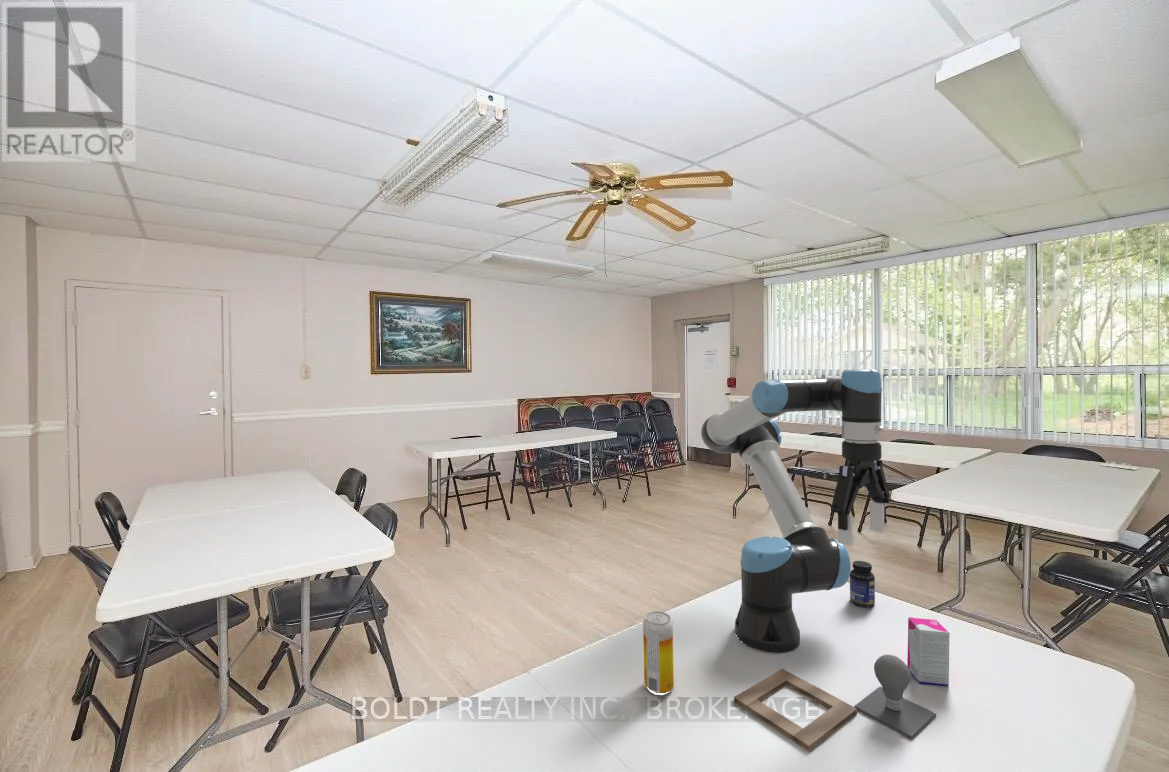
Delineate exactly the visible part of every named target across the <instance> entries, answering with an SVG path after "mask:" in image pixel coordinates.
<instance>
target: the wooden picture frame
mask: <svg viewBox="0 0 1169 772" xmlns="http://www.w3.org/2000/svg"><path fill="white" fill-rule="evenodd" d="M786 686H787V687H789V688H791V689H793V690H795V691H796V692H798V693H800V694H802V695H803V696H805V697H807V698H809V699H811V700H812V701H814V702H816V703H818V704H819V705H821V706H822V707H824V708H827V710H826V711H825V712H824V713H822V714H821V715H819V716H818V717H816V718H815V719H814V720H813V721H811V722H810V723H808V724H807V725H805V727H802V726H800V725H798V724H797V723H795V722H793V721H792V720H790V719H789V718H787V717H786V716H784V715H783V714H781V713H779V712H777V711H776V710H774V709H772V708H771V707H769V706H768V705H766V704H765V703H763V702H762V701H763V700H765V699H767V698H768V697H770V696H771V695H773V694H775V693H776V692H778V691H779V690H781V689H782V688H784V687H786ZM733 702H734V703H735V704H736V705H738V706H740V707H741V708H742V709H744V710H746V711H747V712H749V713H750V714H751V715H753V716H755V717H756V718H758V719H759V720H761V721H762V722H763V723H765V724H767V725H769V726H770V727H771V728H772V729H774V730H776V731H777V732H779V733H780V734H782V735H783V736H785V737H786V738H788V739H789V740H791V741H793V742H794V743H795V744H797V745H799V746H800V747H801V748H803V749H804V750H806V751H808V752H811V751H812V750H813V749H814V748H816V747H817V746H818V745H819V744H821V743H822V742H823V741H824V740H826V739H827V738H829V736H831V735H832V734H834V733H835V732H836V731H837V730H838V729H840V728H841V727H842V726H843V725H845V724H846V723H847V722H849V721H850V720H851V719H852V718H854V717H855V716H856V715H857V714H858V710H857V708H855V706H853V705H851V704H849V703H848V702H846V701H844V700H842V699H840V698H838V697H836V696H835V695H833V694H830V693H829V692H827V691H825V690H823V689H822V688H820V687H818V686H816V685H815V684H812V683H811V682H808V681H807V680H805V679H803V678H801V677H799V676H798V675H795V674H794V673H792V672H790V671H788V670H787V669H784V668H780V669H778V670H776V671H775V672H774V673H772V674H770V675H768V676H766V677H765V678H763V679H761V680H759V681H758V682H756V683H755V684H753V685H752V686H750V687H748V688H746V689H745V690H743V691H742V692H740V693H738V694H736V695H735V696H733Z"/></svg>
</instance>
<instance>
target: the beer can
mask: <svg viewBox="0 0 1169 772" xmlns="http://www.w3.org/2000/svg"><path fill="white" fill-rule="evenodd" d="M673 626H674V625H673V621H672V618H671V616H670V614H668V613H666V612H664V611H656V610H655V611H650V612H648V613H646V614H645V616H644V619H643V620H642V628H643V630H642V632H643V633H642V635H643V639H642V640H643V641H642V642H643V681H644V682H643V683H645V685H646V687H648V688H649V689H650V690H652V691H654V692H656V693H666V692H669V691H672V690H673V689H674V685H675V679H674V676H675V675H674V629H673V628H674V627H673ZM645 685H644V686H645ZM646 687H645V688H646Z"/></svg>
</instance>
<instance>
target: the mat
mask: <svg viewBox="0 0 1169 772" xmlns="http://www.w3.org/2000/svg"><path fill="white" fill-rule="evenodd" d="M854 707H855V708H857V712H860V713H862V714H863V715H865V716H867V717H869V718H871V719H872V720H875V721H876V722H878V723H880V724H882V725H884V726H885V727H887V728H889V729H891V730H892V731H895V732H897V733H899V734H900V735H902V736H904V737H906V738H908V739H909V740H913V739H914V738H915V737H916V736H918V735H919V733H920V732H921V731H922V730H924V728H925V727H927V726H928V725H929V724H930V723H931V722H932V721H933V720H934V719H936V716H937V715H936V714H937V713H936V712H934V711H932V710H929V709H927V708H925V707H923V706H922V705H919V704H917V703H915V702H913V701H911V700H909V699H907V698H906V697H902V699H901V710H899V711H896V710H892V709H890V708H888V707H887V706H886V704H885V694H884V692H883V688H882V686H878V687H877V688H876V689H874V690H873V691H872V692H870V693H869V694H867V695H866V696H865V697H863V698H862V699H861V700H860V701H859V702H857V703H856V704H855V705H854Z"/></svg>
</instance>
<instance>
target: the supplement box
mask: <svg viewBox="0 0 1169 772" xmlns="http://www.w3.org/2000/svg"><path fill="white" fill-rule="evenodd" d="M907 619H908V620H907V621H908V622H907V664H906V665H907V667H908V668H909V671H910V673H911V677H912V676H913V678H914V680H915V681H916V682H917V684H918V685H925V686H935V687H936V686H937V687H946V688H948V687H949V683H950V635H951V634H950V632H949V631H948V630H947V629H946V628H945V627H944V626H943V624H941V623H940V622H939V621H938V620H937V619H934V618H933V619H930V618H919V617H911V616H909V617H907Z"/></svg>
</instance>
